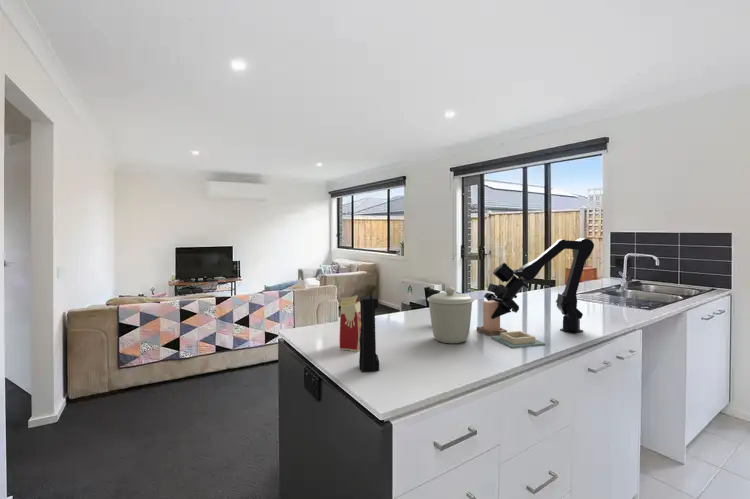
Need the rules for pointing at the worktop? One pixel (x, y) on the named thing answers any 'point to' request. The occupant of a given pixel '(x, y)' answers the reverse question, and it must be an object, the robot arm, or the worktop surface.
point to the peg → (488, 311)
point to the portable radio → (368, 334)
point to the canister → (450, 316)
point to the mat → (517, 339)
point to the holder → (490, 331)
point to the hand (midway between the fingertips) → (488, 316)
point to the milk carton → (350, 324)
